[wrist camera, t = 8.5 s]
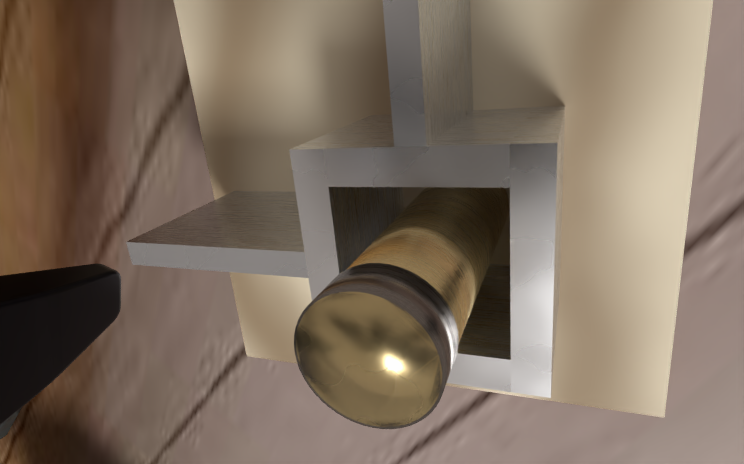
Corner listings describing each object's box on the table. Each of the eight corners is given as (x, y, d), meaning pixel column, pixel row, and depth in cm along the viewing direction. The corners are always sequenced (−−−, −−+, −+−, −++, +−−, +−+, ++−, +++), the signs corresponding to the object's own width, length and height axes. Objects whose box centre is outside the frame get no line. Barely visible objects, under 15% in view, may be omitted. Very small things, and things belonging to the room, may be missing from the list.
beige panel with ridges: (730, -254, 13) (873, -523, 7) (659, 391, 20) (696, 568, 13) (177, -110, 20) (-20, -177, 13) (263, 340, 27) (159, 441, 20)
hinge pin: (510, 162, 17) (440, 296, 9) (510, 247, 19) (448, 441, 10) (422, 163, 19) (282, 282, 10) (427, 243, 20) (304, 414, 11)
